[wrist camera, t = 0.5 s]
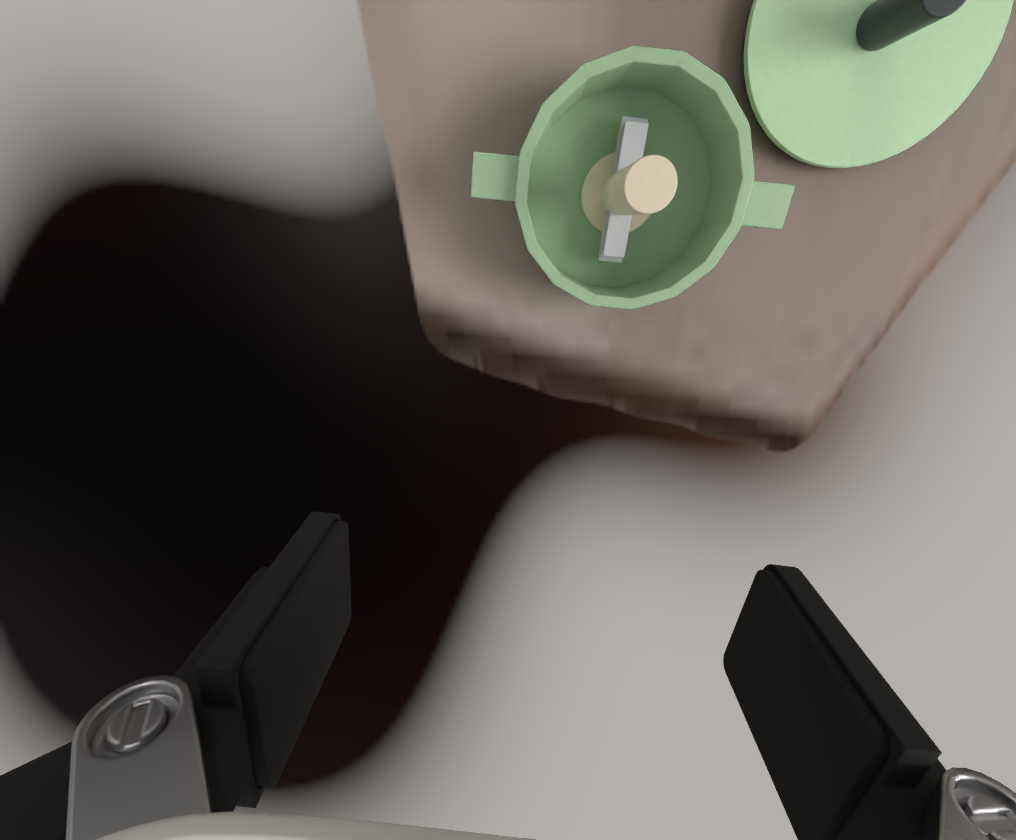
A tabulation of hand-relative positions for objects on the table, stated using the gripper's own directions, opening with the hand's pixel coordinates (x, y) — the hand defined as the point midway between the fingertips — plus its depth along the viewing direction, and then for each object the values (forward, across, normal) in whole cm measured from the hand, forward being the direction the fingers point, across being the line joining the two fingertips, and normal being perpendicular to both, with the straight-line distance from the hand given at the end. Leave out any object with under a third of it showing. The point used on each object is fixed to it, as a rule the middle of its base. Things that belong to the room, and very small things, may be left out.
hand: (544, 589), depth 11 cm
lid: (+27, -17, -20) cm, 38 cm away
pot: (+27, -4, -10) cm, 29 cm away
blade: (+27, -4, -10) cm, 29 cm away
